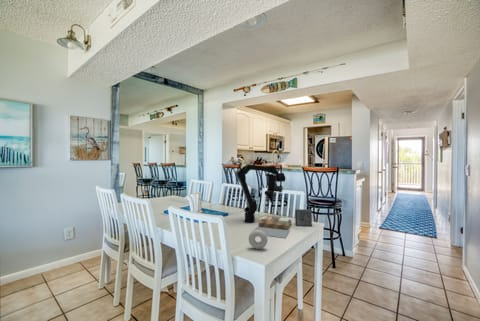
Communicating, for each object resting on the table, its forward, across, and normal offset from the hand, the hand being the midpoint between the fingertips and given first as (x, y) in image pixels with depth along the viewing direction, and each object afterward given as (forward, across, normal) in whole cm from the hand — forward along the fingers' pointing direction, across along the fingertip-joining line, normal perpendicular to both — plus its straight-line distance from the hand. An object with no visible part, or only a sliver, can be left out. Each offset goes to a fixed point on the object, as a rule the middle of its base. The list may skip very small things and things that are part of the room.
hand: (271, 202), depth 174 cm
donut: (+13, -56, -6) cm, 58 cm away
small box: (+13, -5, -24) cm, 28 cm away
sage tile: (+10, -13, -12) cm, 20 cm away
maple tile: (+10, -13, 0) cm, 16 cm away
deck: (+13, -14, -6) cm, 20 cm away
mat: (+13, -29, -6) cm, 32 cm away
